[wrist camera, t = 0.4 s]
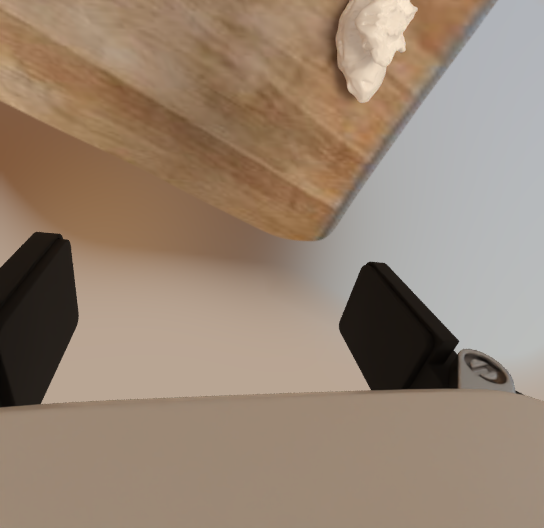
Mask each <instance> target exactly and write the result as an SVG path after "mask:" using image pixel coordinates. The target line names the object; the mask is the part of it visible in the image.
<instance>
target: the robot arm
mask: <svg viewBox="0 0 544 528" xmlns="http://www.w3.org/2000/svg"><path fill="white" fill-rule="evenodd" d="M78 316H79V315H78V305H77V296H76V288H75V279H74V270H73V263H72V253H71V245H70V242H69V240H65V239H63V237H62V235H61V234H54V233H43V232H35V233H34V234H33V235H32V236H31V237H30V238H29V239H28V240H27V241H26V242H25V243H24V244H23V245H22V246H21V247H20V248H19V249H18V250H17V251H16V252H15V253H14V254H13V255H12V256H11V257H10V259H8V260H7V262H5V263H4V265H3V266H2V267H1V268H0V528H544V401H541V400H538V399H535V398H532V397H529V396H525V395H523V394H521V393H519V392H517V391H515V387H514V382H513V379H512V377H511V375H510V374H509V372H508V371H507V370H506V369H505V368H504V367H503V366H502V365H501V364H500V363H499V362H497V361H496V360H495V359H493V358H492V357H490V356H488V355H486V354H484V353H482V352H479V351H477V350H472V349H463V350H461V351H460V352H459V353H458V355H457V354H456V352H455V351H454V349H455V347H456V346H457V344H458V342H459V340H458V339H457V338H456V337H455V336H454V335H453V334H452V333H451V332H450V331H449V330H448V329H447V328H446V327H445V326H444V325H443V324H442V323H441V321H440V320H439V319H438V318H437V317H436V316H435V315H434V314H433V313H432V312H431V311H430V310H429V309H428V308H427V307H426V306H425V304H423V302H422V301H420V299H419V298H418V297H417V296H416V295H415V294H414V293H413V292H412V291H411V290H410V289H409V288H408V286H407V285H406V284H405V283H404V282H403V281H402V280H401V279H400V278H399V277H398V276H397V275H396V274H395V273H394V272H393V271H392V270H391V268H390V267H389V266H387V264H385V263H377V262H368V263H367V264H366V265H364V266H363V267H362V268H361V270H360V273H359V275H358V278H357V280H356V282H355V285H354V287H353V290H352V292H351V295H350V298H349V300H348V302H347V305H346V307H345V310H344V312H343V315H342V317H341V320H340V323H339V330H340V333H341V334H342V336H343V338H344V340H345V342H346V344H347V346H348V348H349V349H350V351H351V353H352V355H353V357H354V359H355V361H356V363H357V364H358V366H359V368H360V370H361V372H362V374H363V376H364V378H365V379H366V381H367V383H368V385H369V387H370V389H371V390H370V391H339V392H338V391H336V392H310V393H309V392H307V393H279V394H255V395H254V394H253V395H225V396H203V397H202V396H201V397H179V398H178V397H177V398H153V399H130V400H129V399H128V400H107V401H88V402H69V403H53V404H41V402H42V400H43V398H44V396H45V393H46V391H47V389H48V387H49V385H50V383H51V380H52V378H53V376H54V374H55V372H56V370H57V368H58V365H59V363H60V361H61V359H62V357H63V355H64V352H65V350H66V348H67V346H68V344H69V342H70V339H71V337H72V335H73V333H74V331H75V329H76V326H77V323H78Z"/></svg>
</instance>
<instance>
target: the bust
mask: <svg viewBox="0 0 544 528" xmlns="http://www.w3.org/2000/svg"><path fill="white" fill-rule="evenodd" d="M417 10H418V9H417V7H415V6H413V5H412V4H411V3H410V0H349V3H348V5H347V6H346V8H345V10H344V11H343V12H342V15H341V17H340V19H339V25H338V31H337V34H336V39H335V40H336V47H337V51H338V52H337V62H338V68H339V69H340V70H341V71H342V72H343V74H344V77H345V78H346V81H347V89H348V91H349V92H350V93H351V94H353V95H354V96H355V98H356V99H357V100H358V101H359V102H360V103H364V102H368V101H369V100H370V98H371V97H372V96H373V95H374V94H375V93H376V91H377V90H378V89H379V87H380V86H381V84H382V81H383V79H384V76H385V73H386V66H387V65H389V64H390V63H391V60H392V58H393V56H394V53H395V52H396V51H399V52H401V53H402V52H404V51H405V50H406V48H405V45H406V43H405V40H404V36H403V32H404V31H405V30H406V27H407V25H408V24H409V23H410V21H411V20H412V19H413V18H414V14H415V12H416V11H417Z"/></svg>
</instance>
